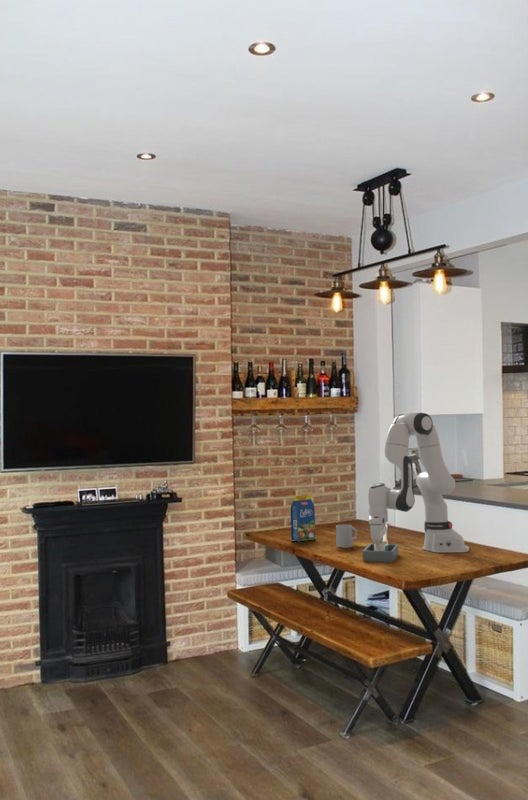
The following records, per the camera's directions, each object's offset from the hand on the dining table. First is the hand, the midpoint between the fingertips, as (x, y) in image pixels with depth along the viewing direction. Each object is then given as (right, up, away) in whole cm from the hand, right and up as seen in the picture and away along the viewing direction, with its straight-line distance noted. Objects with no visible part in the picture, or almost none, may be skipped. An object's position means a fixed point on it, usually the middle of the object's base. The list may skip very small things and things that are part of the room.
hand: (379, 547), depth 350 cm
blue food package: (-33, -8, +56) cm, 65 cm away
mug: (-11, -7, +36) cm, 39 cm away
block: (+3, -6, +8) cm, 10 cm away
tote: (+1, -6, +4) cm, 7 cm away
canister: (0, -6, 0) cm, 6 cm away
